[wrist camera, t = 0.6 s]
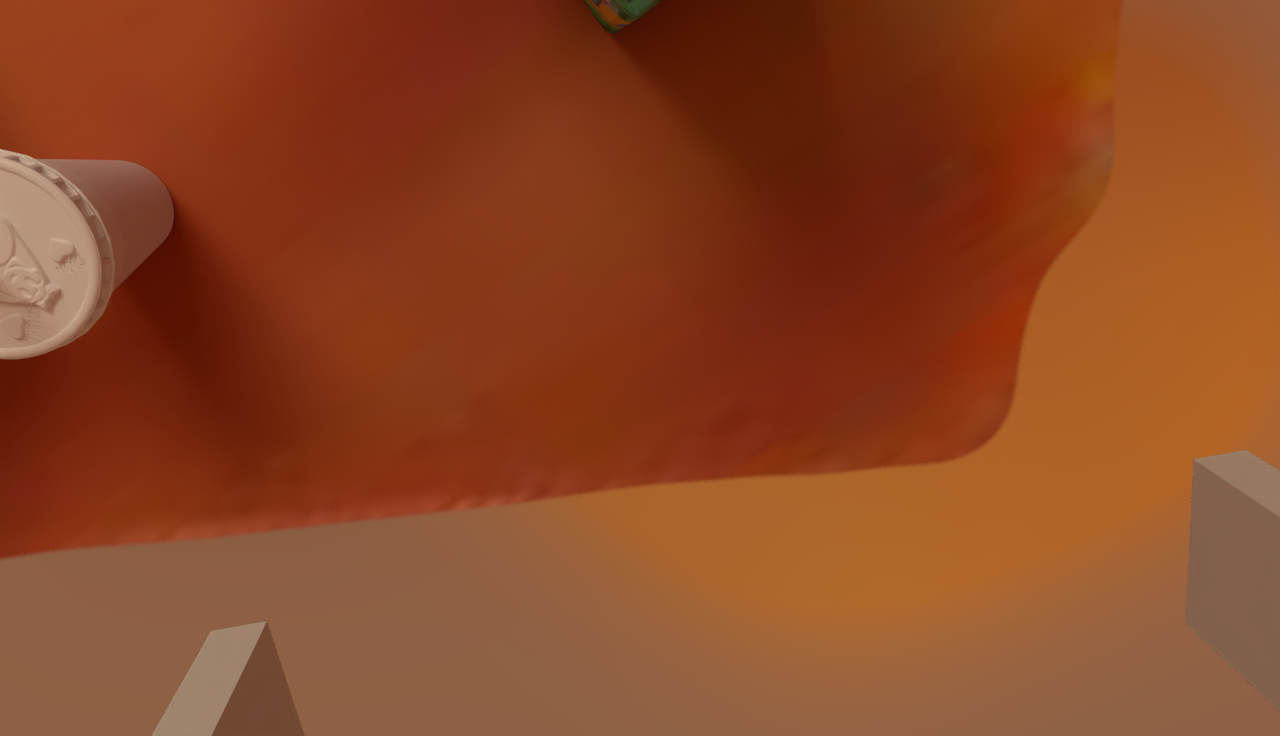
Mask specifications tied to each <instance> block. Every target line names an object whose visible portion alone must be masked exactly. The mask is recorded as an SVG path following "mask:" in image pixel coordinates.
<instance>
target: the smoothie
mask: <svg viewBox="0 0 1280 736" xmlns="http://www.w3.org/2000/svg"><path fill="white" fill-rule="evenodd" d="M173 221H174V207H173V202H172V199H171V196H170V194H169V192H168V190H167V188H166V187H165V185H164V184H163V183H162V182H161V180H160V179H159V178H158V177H157V176H156V175H155V174H153V173H152V172H151V171H149V170H148V169H146V168H144V167H142V166H140V165H138V164H135V163H132V162H128V161H121V160H63V159H34V158H32V157H30V156H28V155H24V154H20V153H15V152H11V151H7V150H3V149H0V359H23V358H30V357H35V356H38V355H42V354H45V353H48V352H50V351H52V350H55V349H57V348H59V347H62V346H66V345H67V344H69V343H71V342H72V341H74V340H75V339H77V338H79V337H80V336H82V335H83V334H85V333H87V332H88V331H89V329H90V328H91V327H92V326H93V325H94V324H95V323H96V321H97V320H98V319H99V318H100V317H101V316H102V314H103V313H104V311H105V309H106V306H107V304H108V302H109V299H110V297H111V295H112V292H113V291H114V290H115V289H116V288H117V287H118V286H119V285H120V284H121V283H122V282H123V281H124V280H125V279H126V278H127V277H128V276H129V275H130V274H131V273H132V272H133V271H134V270H135V269H136V268H137V267H138V266H139V265H140V264H141V263H142V262H143V261H144V260H145V259H147V258H148V257H149V256H150V255H151V254H152V253H153V252H154V251H155V250H156V249H157V248H158V247H159V246H160V245H161V244H162V243H163V242H164V241H165V239H166V238H167V237H168V235H169V233H170V231H171V229H172V226H173Z"/></svg>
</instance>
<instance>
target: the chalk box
mask: <svg viewBox="0 0 1280 736" xmlns="http://www.w3.org/2000/svg"><path fill="white" fill-rule="evenodd" d="M584 1H585V3H586V4H587V6H588V7H589V8H590V10H591V11H592V13H593V14H594V16H595V17H596V18H597V20H598V21H599V22H600V24H601V25H602V26H603V28H604V29H605V30H607V31H608V32H609V33H616V32H618V31H619V30H621V29H622V28H624V27H625V26H627V25H629V24H630V23H631V22H633V21H635V20H637V19H639V18H641V17H642V16H643V15H644V14H645V13H647V12H648V11H649V10H650V9H652V8H653V7H654V6H655V5H657V4H658V3H659V2H660V1H662V0H584Z"/></svg>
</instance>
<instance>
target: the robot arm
mask: <svg viewBox="0 0 1280 736" xmlns="http://www.w3.org/2000/svg"><path fill="white" fill-rule="evenodd" d="M1186 625H1188V626H1189V627H1190V628H1191V629H1192V630H1193V631H1194V632H1195V633H1196V634H1197V635H1198V636H1199V637H1200V638H1202V640H1203V641H1205V642H1206V643H1207V644H1208V645H1209V646H1210V647H1211V648H1212V649H1213V650H1214V651H1215V652H1216V653H1217V654H1218V655H1219V656H1221V657H1222V658H1223V659H1224V660H1225V661H1226V662H1227V663H1228V664H1229V665H1230V666H1231V667H1232V668H1233V669H1234V670H1235V671H1236V672H1238V673H1239V674H1240V675H1241V676H1242V677H1243V678H1244V679H1245V680H1246V681H1247V682H1248V683H1249V684H1250V685H1251V686H1252V687H1254V688H1255V689H1256V690H1257V691H1258V692H1259V693H1260V694H1261V695H1262V696H1263V697H1264V698H1265V699H1266V700H1267V701H1268V702H1269V703H1270V704H1272V705H1273V706H1274V707H1275V708H1276V709H1277V710H1278V711H1279V712H1280V470H1278V469H1276V468H1275V467H1273V466H1271V465H1270V464H1268V463H1266V462H1265V461H1263V460H1261V459H1260V458H1258V457H1257V456H1255V455H1253V454H1252V453H1250V452H1248V451H1247V450H1244V451H1238V452H1233V453H1227V454H1221V455H1215V456H1210V457H1204V458H1198V459H1194V461H1193V482H1192V502H1191V524H1190V544H1189V566H1188V587H1187V608H1186ZM152 736H304V733H303V730H302V727H301V724H300V721H299V718H298V715H297V711H296V708H295V705H294V702H293V699H292V696H291V693H290V690H289V687H288V684H287V681H286V678H285V675H284V672H283V669H282V665H281V662H280V659H279V656H278V653H277V650H276V648H275V644H274V641H273V638H272V635H271V632H270V629H269V626H268V623H267V621H266V622H260V623H254V624H248V625H242V626H237V627H231V628H225V629H219V630H214V631H211V632H210V634H209V636H208V638H207V639H206V641H205V643H204V645H203V647H202V648H201V650H200V652H199V654H198V655H197V657H196V659H195V661H194V662H193V664H192V666H191V667H190V669H189V671H188V673H187V675H186V676H185V678H184V680H183V682H182V683H181V685H180V687H179V689H178V690H177V692H176V694H175V696H174V697H173V699H172V701H171V703H170V704H169V706H168V708H167V710H166V711H165V713H164V715H163V717H162V718H161V720H160V722H159V724H158V725H157V727H156V729H155V731H154V732H153V734H152Z"/></svg>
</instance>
